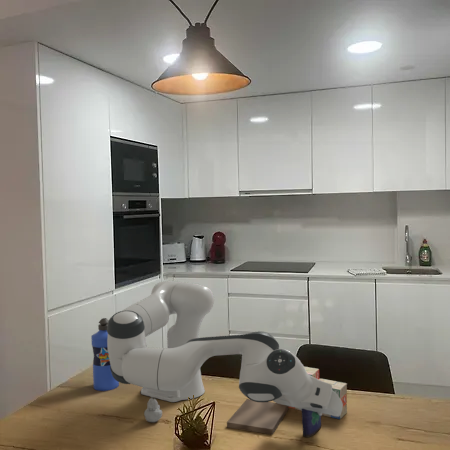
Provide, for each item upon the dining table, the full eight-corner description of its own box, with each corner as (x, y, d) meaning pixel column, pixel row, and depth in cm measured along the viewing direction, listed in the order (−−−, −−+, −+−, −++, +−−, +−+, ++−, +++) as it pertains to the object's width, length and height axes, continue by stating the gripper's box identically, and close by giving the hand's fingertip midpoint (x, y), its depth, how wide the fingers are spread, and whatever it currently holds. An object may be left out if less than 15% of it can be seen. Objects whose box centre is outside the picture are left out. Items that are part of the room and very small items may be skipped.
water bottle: (92, 383, 182) (90, 317, 180) (118, 380, 184) (115, 314, 183) (93, 392, 173) (91, 322, 172) (120, 389, 175) (118, 320, 174)
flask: (315, 423, 145) (313, 387, 144) (324, 425, 143) (322, 389, 142) (300, 436, 137) (299, 398, 137) (310, 438, 135) (308, 400, 135)
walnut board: (226, 427, 144) (226, 422, 144) (247, 403, 160) (246, 398, 160) (272, 434, 138) (272, 429, 138) (288, 409, 155) (288, 404, 155)
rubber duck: (140, 424, 147) (139, 398, 147) (150, 414, 153) (149, 389, 153) (157, 426, 145) (156, 399, 145) (166, 416, 152) (165, 391, 151)
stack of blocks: (347, 412, 152) (347, 373, 151) (340, 420, 147) (339, 380, 146) (285, 398, 164) (285, 362, 163) (277, 405, 159) (276, 368, 158)
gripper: (260, 393, 135) (276, 414, 144) (331, 408, 125) (344, 429, 133) (267, 372, 139) (282, 394, 148) (337, 385, 128) (349, 407, 137)
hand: (312, 411), depth 140 cm, fingers closed on flask, 3 cm apart
